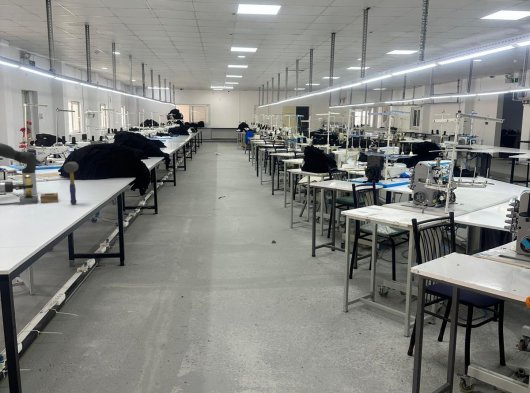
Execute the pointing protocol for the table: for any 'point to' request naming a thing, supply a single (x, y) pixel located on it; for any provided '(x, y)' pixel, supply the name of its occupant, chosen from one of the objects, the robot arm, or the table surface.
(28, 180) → the brass peg
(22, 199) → the socket block
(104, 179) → the table surface
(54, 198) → the block
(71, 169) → the rubber mallet
